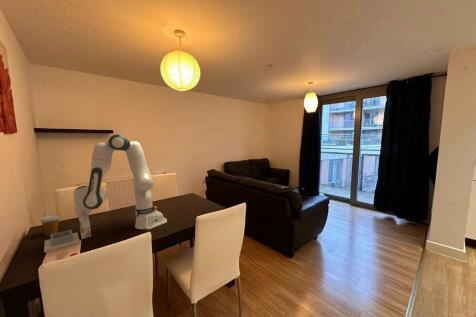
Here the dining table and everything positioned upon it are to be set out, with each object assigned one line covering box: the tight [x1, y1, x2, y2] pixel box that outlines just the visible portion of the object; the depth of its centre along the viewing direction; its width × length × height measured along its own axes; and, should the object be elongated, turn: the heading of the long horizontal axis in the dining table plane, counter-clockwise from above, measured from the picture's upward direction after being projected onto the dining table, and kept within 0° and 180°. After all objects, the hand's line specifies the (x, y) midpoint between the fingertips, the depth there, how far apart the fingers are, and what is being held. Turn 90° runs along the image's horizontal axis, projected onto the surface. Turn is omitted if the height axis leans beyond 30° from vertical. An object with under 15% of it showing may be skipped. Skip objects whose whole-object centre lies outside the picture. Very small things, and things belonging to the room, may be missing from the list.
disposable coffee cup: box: [40, 214, 60, 237], centre depth 137 cm, size 10×10×12 cm
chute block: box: [79, 221, 92, 240], centre depth 133 cm, size 5×5×9 cm
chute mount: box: [43, 229, 80, 254], centre depth 125 cm, size 16×15×6 cm
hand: (84, 230), depth 133 cm, fingers open, 8 cm apart
